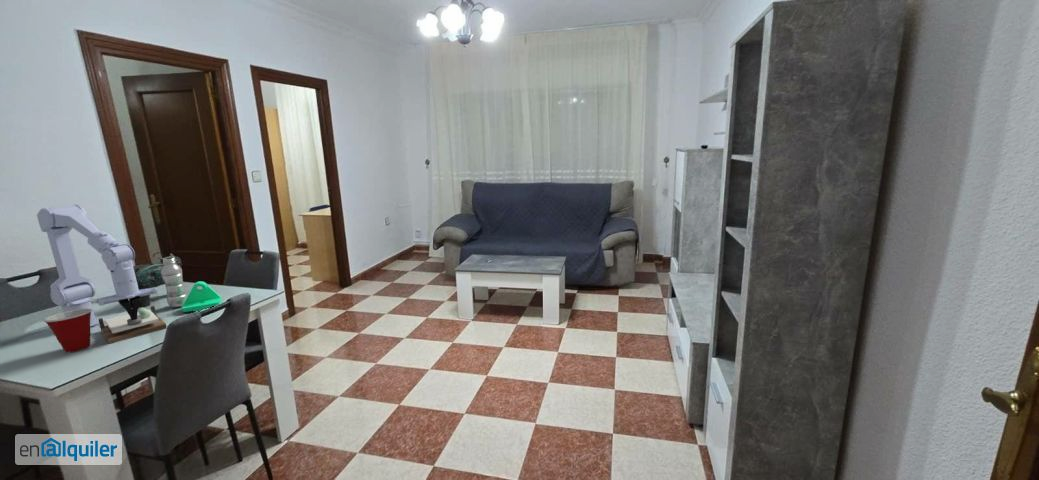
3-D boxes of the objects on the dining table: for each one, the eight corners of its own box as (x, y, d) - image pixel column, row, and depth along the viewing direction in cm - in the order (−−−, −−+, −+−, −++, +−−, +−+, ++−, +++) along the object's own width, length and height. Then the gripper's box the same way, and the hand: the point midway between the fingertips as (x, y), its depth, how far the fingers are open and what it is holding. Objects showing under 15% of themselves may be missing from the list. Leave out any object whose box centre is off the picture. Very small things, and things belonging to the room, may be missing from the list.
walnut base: (101, 331, 147) (97, 318, 146) (156, 317, 158) (153, 305, 157) (108, 343, 137) (105, 330, 136) (166, 328, 149) (164, 315, 147)
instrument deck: (105, 321, 147) (102, 312, 146) (149, 311, 156) (147, 302, 155) (112, 333, 138) (110, 324, 137) (159, 321, 147) (157, 312, 146)
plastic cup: (94, 337, 142) (85, 304, 139) (106, 344, 137) (97, 310, 134) (48, 351, 133) (37, 315, 130) (58, 359, 128) (48, 322, 125)
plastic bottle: (192, 305, 170) (182, 257, 165) (172, 310, 164) (161, 261, 160) (185, 302, 173) (176, 255, 169) (165, 307, 168) (154, 259, 163)
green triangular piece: (182, 315, 160) (176, 289, 158) (185, 308, 167) (180, 284, 164) (220, 308, 166) (215, 284, 164) (222, 302, 173) (217, 278, 170)
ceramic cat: (180, 291, 187) (170, 247, 182) (192, 291, 185) (183, 248, 181) (131, 308, 168) (120, 259, 163) (144, 309, 166) (133, 260, 162)
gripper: (96, 289, 132) (107, 329, 135) (155, 277, 143) (164, 314, 146) (93, 285, 136) (103, 323, 140) (150, 274, 147) (159, 310, 151)
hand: (134, 319), depth 143 cm, fingers closed, pressing on instrument deck
